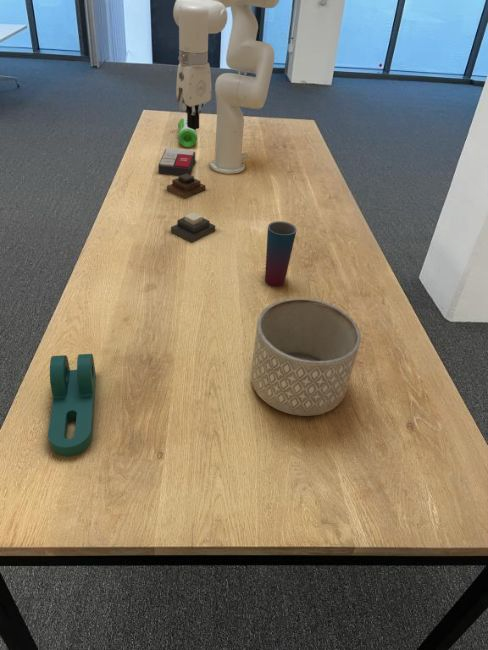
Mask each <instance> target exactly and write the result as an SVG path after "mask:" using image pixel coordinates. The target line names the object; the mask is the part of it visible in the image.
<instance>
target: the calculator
mask: <svg viewBox="0 0 488 650" xmlns="http://www.w3.org/2000/svg"><path fill="white" fill-rule="evenodd" d="M195 163H196V152H195V151H194V150H188V149H176V148H165V150H164V152H163V154H162V157H161V158H160V161H159V163H158V167H157V168H158V169H157V170H158V174H160V175H169V176H170V175H171V176H178V177H179V176H181V175H183V174H189V175H191V174H192V170H193V168H194V165H195Z"/></svg>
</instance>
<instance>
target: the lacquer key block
mask: <svg viewBox="0 0 488 650" xmlns="http://www.w3.org/2000/svg"><path fill="white" fill-rule="evenodd" d="M215 231H216V224H213V223H211V221H210V220H209V219H206V218H204V217H203V218H202V222H200V223H198V224H196V225H192V224H190V223H188V222H186V221H185V216H183V217H182V218H178V219H177V220H176V224H174V225H172V226H170V233H171V234H174V235H175V236H178V237H179V238H182V239H184V240H186V241H187V242H190V243H193V242H195V241H197V240H199V239H201V238H203V237H205V236H207V235H209V234H211V233H213V232H215Z"/></svg>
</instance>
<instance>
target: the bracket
mask: <svg viewBox="0 0 488 650" xmlns="http://www.w3.org/2000/svg"><path fill="white" fill-rule="evenodd" d="M68 358H69V357H68V355H66V354H63V355H52V356H51V357H50V362H49V382H50V388H51V389H50V390H51V393H52V405H51V411H50V417H49V425H48V430H47V431H48V432H47V437H48V438H47V439H48V441H49V445H50V449H51V450H52V451H53V452H54V453H55V454H56V455H59V456H62V457H72V456H73V457H74V456H76V455H79V454H81V453H83V452H84V451H85V450H87V449H88V448H89V447H90V445H91V444H92V442H93V435H94V434H93V433H94V418H95V417H94V416H95V403H96V402H95V401H96V387H97V386H96V385H97V372H96V367H95V360H94V355H93V353H81V354H80V353H79V354H78V355H77V357H76V359H77V360H76V369H71V368H70V363H69V359H68ZM71 420H75V428H74V435H73V437H71V438H68V431H69V430H68V429H69V422H71Z"/></svg>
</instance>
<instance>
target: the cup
mask: <svg viewBox="0 0 488 650" xmlns="http://www.w3.org/2000/svg"><path fill="white" fill-rule="evenodd" d="M297 230H298V229H297V227H296V226H295V225H294V224H292V223H291V222H288V221H281V220H279V221H278V220H277V221H272V222H270V223H269V224H268V225H267V236H266V255H265V258H266V259H265V273H264V282H265V283H266V284H267V285H268V286H271V287H282V286H283V285H285V282H286V278H287V273H288V268H289V265H290V260H291V256H292V252H293V248H294V243H295V239H296V234H297Z"/></svg>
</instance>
